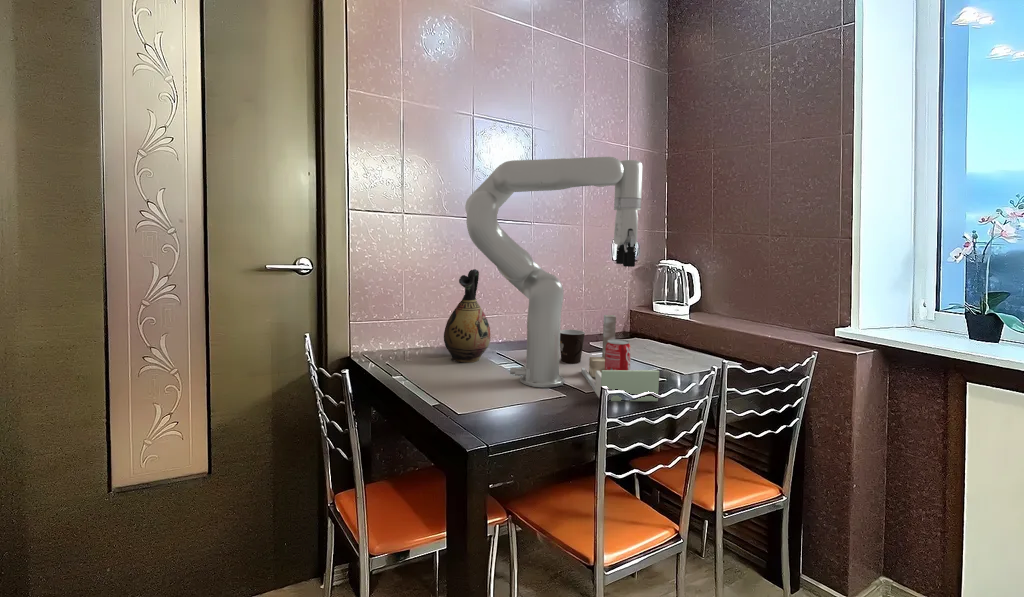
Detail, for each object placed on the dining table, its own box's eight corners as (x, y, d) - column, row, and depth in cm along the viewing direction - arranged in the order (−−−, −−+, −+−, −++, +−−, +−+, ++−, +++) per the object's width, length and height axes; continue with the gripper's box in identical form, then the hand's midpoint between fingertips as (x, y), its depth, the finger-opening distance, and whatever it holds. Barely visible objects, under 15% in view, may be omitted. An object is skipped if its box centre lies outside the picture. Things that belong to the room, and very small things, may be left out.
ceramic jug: (482, 367, 180) (484, 272, 176) (436, 363, 183) (437, 270, 179) (496, 355, 196) (498, 268, 192) (454, 351, 200) (454, 266, 196)
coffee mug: (558, 357, 194) (559, 329, 193) (583, 359, 193) (585, 330, 192) (556, 366, 183) (557, 335, 181) (583, 367, 182) (584, 337, 180)
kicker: (592, 377, 170) (594, 317, 167) (588, 372, 175) (590, 314, 173) (628, 377, 170) (631, 318, 168) (623, 372, 176) (626, 315, 173)
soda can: (629, 390, 158) (631, 344, 156) (603, 388, 160) (605, 343, 158) (629, 383, 165) (631, 339, 163) (604, 381, 166) (606, 337, 165)
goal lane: (601, 401, 148) (602, 371, 147) (581, 371, 177) (582, 346, 176) (657, 401, 149) (659, 371, 148) (628, 371, 178) (630, 346, 176)
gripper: (608, 205, 170) (606, 262, 172) (620, 204, 153) (618, 267, 155) (633, 206, 170) (631, 263, 172) (648, 204, 153) (645, 267, 155)
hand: (625, 265), depth 164 cm, fingers open, 9 cm apart
